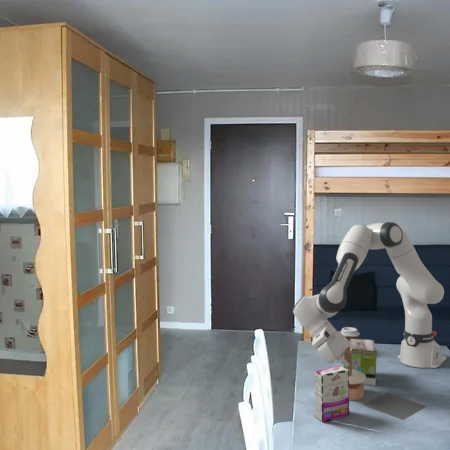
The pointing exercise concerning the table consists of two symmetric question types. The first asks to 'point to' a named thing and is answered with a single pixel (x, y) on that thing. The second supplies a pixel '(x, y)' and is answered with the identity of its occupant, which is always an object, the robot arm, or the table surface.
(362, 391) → the bowl
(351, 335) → the coffee cup
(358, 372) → the lid
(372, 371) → the tea box
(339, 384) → the candy bar box
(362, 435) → the table surface
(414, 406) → the mat
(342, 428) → the table surface
